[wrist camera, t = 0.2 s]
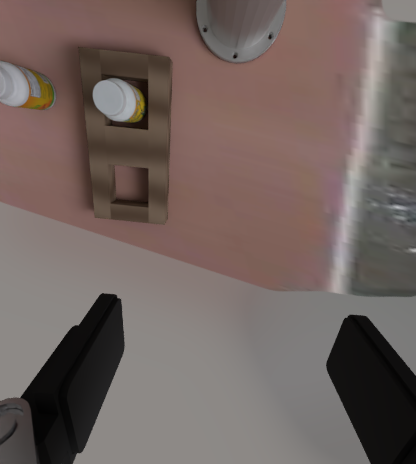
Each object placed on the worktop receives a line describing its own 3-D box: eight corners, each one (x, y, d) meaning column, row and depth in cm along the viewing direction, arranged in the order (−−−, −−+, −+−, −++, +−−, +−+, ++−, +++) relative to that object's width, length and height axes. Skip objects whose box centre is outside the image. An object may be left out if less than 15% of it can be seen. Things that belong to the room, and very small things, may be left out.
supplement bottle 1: (28, 109, 40) (-26, 103, 31) (19, 71, 38) (-41, 53, 29) (60, 111, 40) (15, 105, 31) (53, 73, 38) (3, 55, 29)
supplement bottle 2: (135, 79, 38) (111, 63, 29) (154, 112, 40) (137, 106, 31) (109, 98, 39) (78, 88, 30) (128, 129, 41) (104, 128, 32)
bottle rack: (88, 53, 37) (78, 46, 34) (172, 62, 37) (169, 56, 34) (101, 212, 47) (94, 217, 44) (167, 219, 47) (164, 224, 44)
